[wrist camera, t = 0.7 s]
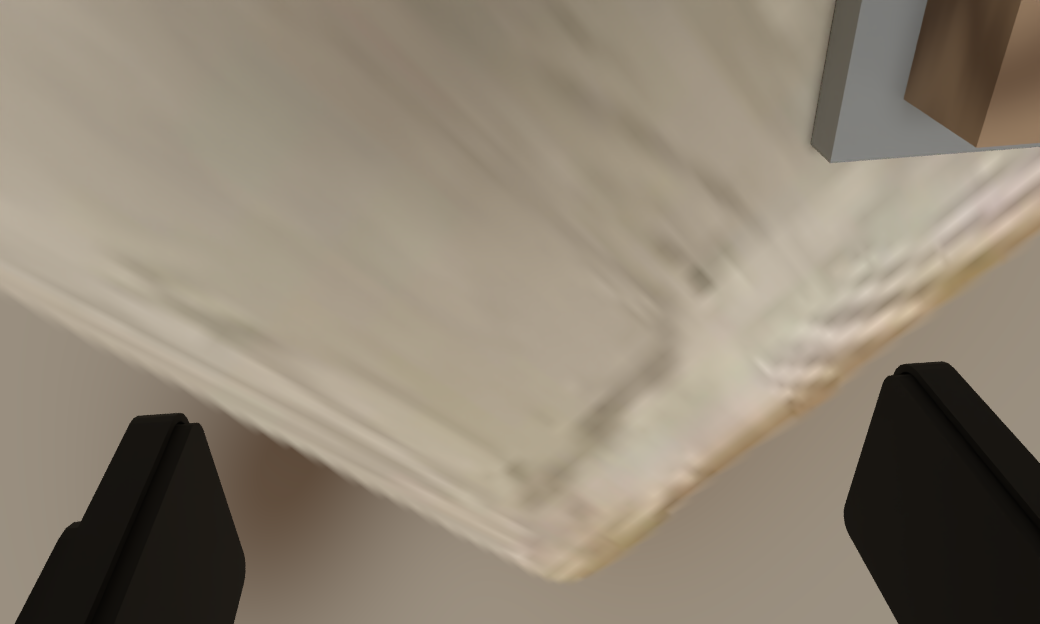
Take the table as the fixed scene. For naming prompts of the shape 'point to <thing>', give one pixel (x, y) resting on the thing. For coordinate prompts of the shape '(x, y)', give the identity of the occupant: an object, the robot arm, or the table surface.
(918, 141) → the slate base
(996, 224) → the table surface
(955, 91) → the walnut block
